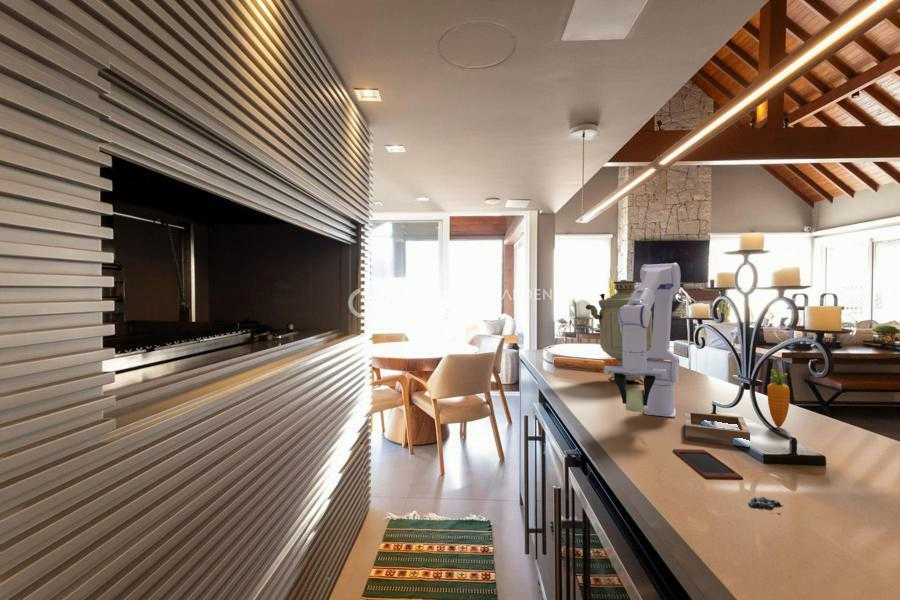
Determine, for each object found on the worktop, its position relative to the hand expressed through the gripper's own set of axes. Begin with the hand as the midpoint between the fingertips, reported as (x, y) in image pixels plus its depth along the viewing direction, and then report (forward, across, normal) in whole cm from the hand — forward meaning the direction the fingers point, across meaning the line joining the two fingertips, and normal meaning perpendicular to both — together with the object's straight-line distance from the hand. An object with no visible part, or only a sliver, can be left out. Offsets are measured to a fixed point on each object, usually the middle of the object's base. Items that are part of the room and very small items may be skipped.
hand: (634, 403), depth 113 cm
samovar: (+8, -9, +62) cm, 63 cm away
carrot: (+7, +33, +19) cm, 39 cm away
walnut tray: (+7, +18, +5) cm, 20 cm away
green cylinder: (+2, 0, 0) cm, 2 cm away
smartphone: (+8, +15, -17) cm, 24 cm away
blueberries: (+8, +23, -33) cm, 41 cm away
